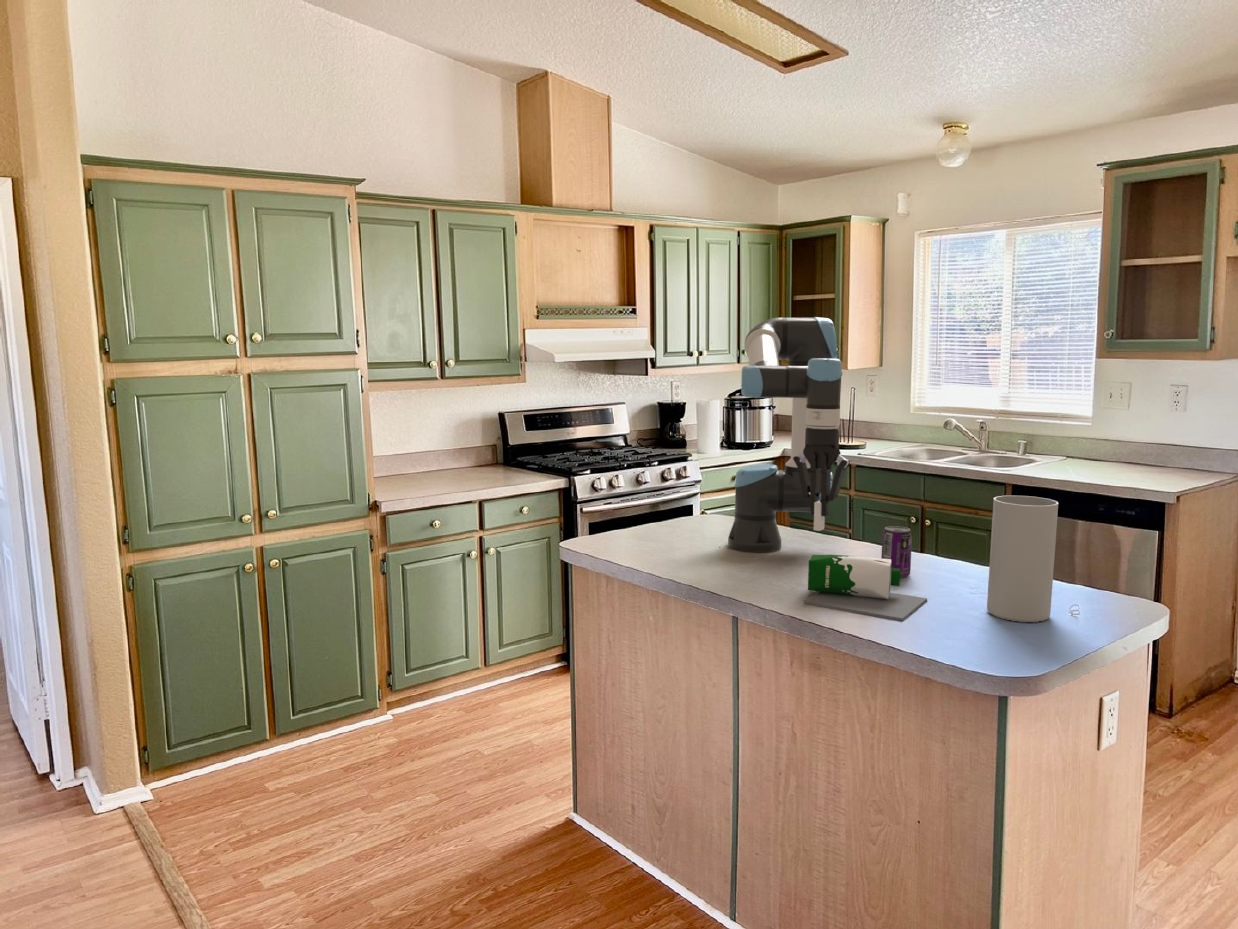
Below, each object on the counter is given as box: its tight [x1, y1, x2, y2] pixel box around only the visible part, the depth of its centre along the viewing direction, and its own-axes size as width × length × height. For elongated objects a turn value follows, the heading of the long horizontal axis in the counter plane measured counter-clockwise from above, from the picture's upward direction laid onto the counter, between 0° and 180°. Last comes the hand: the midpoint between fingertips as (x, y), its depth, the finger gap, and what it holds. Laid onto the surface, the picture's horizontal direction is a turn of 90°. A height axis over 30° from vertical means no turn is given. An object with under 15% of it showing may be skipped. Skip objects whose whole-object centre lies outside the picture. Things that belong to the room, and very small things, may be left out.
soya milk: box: [807, 554, 901, 599], centre depth 205 cm, size 9×9×20 cm
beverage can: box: [880, 525, 913, 579], centre depth 224 cm, size 7×7×12 cm
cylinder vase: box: [986, 495, 1059, 623], centre depth 191 cm, size 12×12×25 cm
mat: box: [803, 591, 928, 622], centre depth 201 cm, size 22×18×1 cm
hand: (818, 529), depth 205 cm, fingers closed
